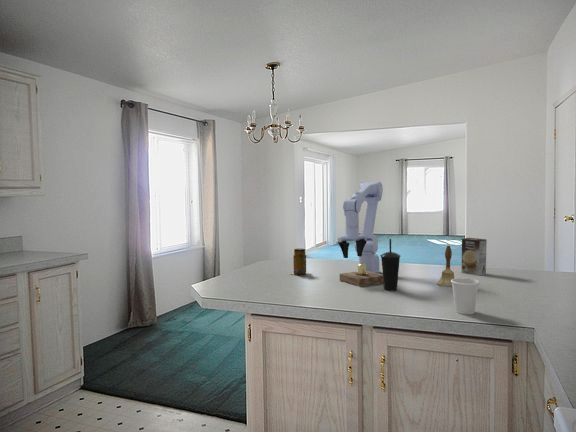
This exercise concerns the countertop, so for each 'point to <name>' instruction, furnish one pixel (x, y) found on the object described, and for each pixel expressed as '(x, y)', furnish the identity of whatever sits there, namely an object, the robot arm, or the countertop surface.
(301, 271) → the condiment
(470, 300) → the dixie cup
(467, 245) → the coffee box
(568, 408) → the countertop surface
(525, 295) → the countertop surface
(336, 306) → the countertop surface
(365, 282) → the socket block
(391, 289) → the drinking cup
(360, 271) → the pin
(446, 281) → the hand bell
